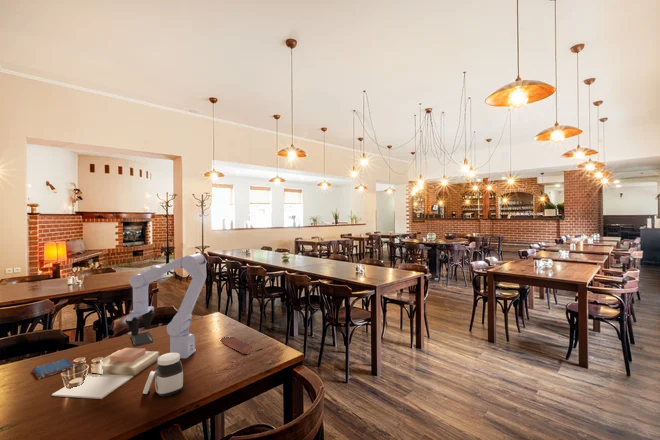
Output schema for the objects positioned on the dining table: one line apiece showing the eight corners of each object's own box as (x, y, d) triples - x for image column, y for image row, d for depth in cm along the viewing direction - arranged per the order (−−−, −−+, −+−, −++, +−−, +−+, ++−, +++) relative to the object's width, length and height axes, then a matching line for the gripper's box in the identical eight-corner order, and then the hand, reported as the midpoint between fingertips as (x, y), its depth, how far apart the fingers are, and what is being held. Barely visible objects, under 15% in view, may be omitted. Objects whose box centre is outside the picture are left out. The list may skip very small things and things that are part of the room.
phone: (148, 331, 159) (153, 340, 148) (148, 333, 159) (153, 342, 148) (130, 335, 154) (134, 344, 143) (130, 337, 154) (134, 347, 143)
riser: (159, 358, 130) (159, 351, 130) (134, 375, 116) (134, 367, 116) (119, 357, 132) (119, 350, 132) (90, 373, 118) (90, 365, 118)
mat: (132, 377, 115) (132, 375, 115) (101, 398, 101) (101, 397, 101) (88, 374, 117) (88, 373, 117) (51, 395, 103) (51, 394, 103)
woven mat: (31, 372, 119) (31, 367, 119) (66, 362, 128) (66, 357, 128) (37, 381, 113) (37, 375, 113) (73, 370, 122) (73, 364, 122)
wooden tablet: (264, 350, 140) (264, 346, 140) (244, 357, 133) (244, 353, 133) (233, 335, 158) (233, 331, 158) (214, 340, 151) (214, 337, 151)
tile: (145, 353, 128) (145, 348, 128) (131, 362, 120) (131, 357, 120) (125, 352, 129) (125, 347, 129) (110, 361, 121) (110, 356, 121)
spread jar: (186, 392, 105) (186, 358, 105) (148, 406, 97) (148, 369, 97) (174, 379, 114) (174, 347, 114) (138, 391, 106) (138, 357, 106)
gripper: (143, 296, 143) (144, 326, 143) (119, 305, 128) (119, 338, 128) (158, 296, 142) (158, 326, 142) (135, 305, 128) (135, 338, 128)
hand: (141, 332), depth 135 cm, fingers open, 7 cm apart
